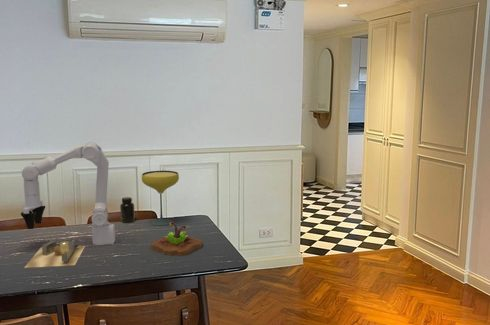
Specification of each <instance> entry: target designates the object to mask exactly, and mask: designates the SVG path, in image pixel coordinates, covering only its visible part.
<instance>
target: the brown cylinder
mask: <svg viewBox="0 0 490 325" xmlns="http://www.w3.org/2000/svg"><path fill="white" fill-rule="evenodd" d="M54 248H55V255H56V256H62V254H61V252H60V244H59V245H56V247H54Z"/></svg>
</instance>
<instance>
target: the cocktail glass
mask: <svg viewBox="0 0 490 325" xmlns="http://www.w3.org/2000/svg"><path fill="white" fill-rule="evenodd" d="M179 179H180V176H179V172H178V171H175V170H154V171H153V170H151V171H150V170H149V171H146V172H143V173H142V174H141V182H142V183H143V185H145V186H147V187H149V188H150V189H151V188H152V189H153V190H155V191H156V192H157V193H158V194H159V195H160V196H159V198H160V204H159V205H160V215H159V216H160V218H158V219H154V220H152V221H150V224H151V225H152V226H160V227H161V226H163V227H164V226H168V225H169V226H170V222H173V220H171V219H167V218H164V217H163V204H162V201H163V200H162V199H163V198H162V194H163V193H164V192H165V191H166V190H167V189H170V188H171V187H172V186H174V185H176V184H177V183H178V181H179Z"/></svg>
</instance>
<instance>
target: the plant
mask: <svg viewBox="0 0 490 325" xmlns="http://www.w3.org/2000/svg"><path fill="white" fill-rule="evenodd" d="M169 226H174V232H173V231H169V233H167V235H164V236H163V237H161V238H158V239H156V240H155V241H154V242H152V243H151V244H150V250H152V251H155V252H157V253H160V254H163V255H164V256H167V255H168V256H172V257H173V256H178V257H181V256H182V257H183V256H186V255H187V256H188V255H190V254H192V252H195V251H197V250H199V249H201V248H202V247H203V240H202V239H199V238H196V237H194V236H189V234H188V235H185V234H186V233H187V231H186V230H187V229H188V227H187V225H182V226H181V227H180V228H179V229H178V226H177V225H176V223H175V222H174V221H172V222H170V224H169Z"/></svg>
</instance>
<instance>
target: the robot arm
mask: <svg viewBox="0 0 490 325" xmlns="http://www.w3.org/2000/svg"><path fill="white" fill-rule="evenodd" d="M74 158H77V159H78V158H79V159H82V158H84V159H86V160H87V161H90V162H92V163H93V164H94V165H95V166H96V181H95V182H96V184H95V201H94V210H93V213H92V216H91V222H92V223H91V238H92V244H93V245H94V246H103V245H104V246H105V245H114V244H115V242H116V228H115V224H114V223H110V222H109V220H108V217H109V211H108V209H107V196H108V195H107V194H108V182H109V181H108V180H109V179H108V178H109V163H110V162H109V160H108V158H107V157H106V154H105V153H104V151H103V149H102V148H101V146H99V145H98V144H97V143H96V142H92V141H91V142H88V143H85V144H81V145H78V146H75V147H73V148H70V149H68V150H66V151H65V152H63V153H61V154H59V155H56V156H54V157H52V156H43V157H42V158H41V159H40V160H38V161H36V162H35V161H33V162H31V164H29V165H26V166H25V167H24V168H23V169H22V170H21V177H22V178H23V191H24V204H22V207H23V208H22V211H21V212H20V216H21V217H22V218H23V220H24V222H25V225H26V227H27V229H28V230H34V227H35V224H41V223H42V220H43V215H44V212H45V209H46V205H43V200H41V193H40V192H41V191H40V183H39V182H40V181H39V176H43V175H45V174H47V173H49V172H51V171H54V170H56V168H57V166H58V165H59V164H62V163H65V162H66V161H69V160H71V159H74Z"/></svg>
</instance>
